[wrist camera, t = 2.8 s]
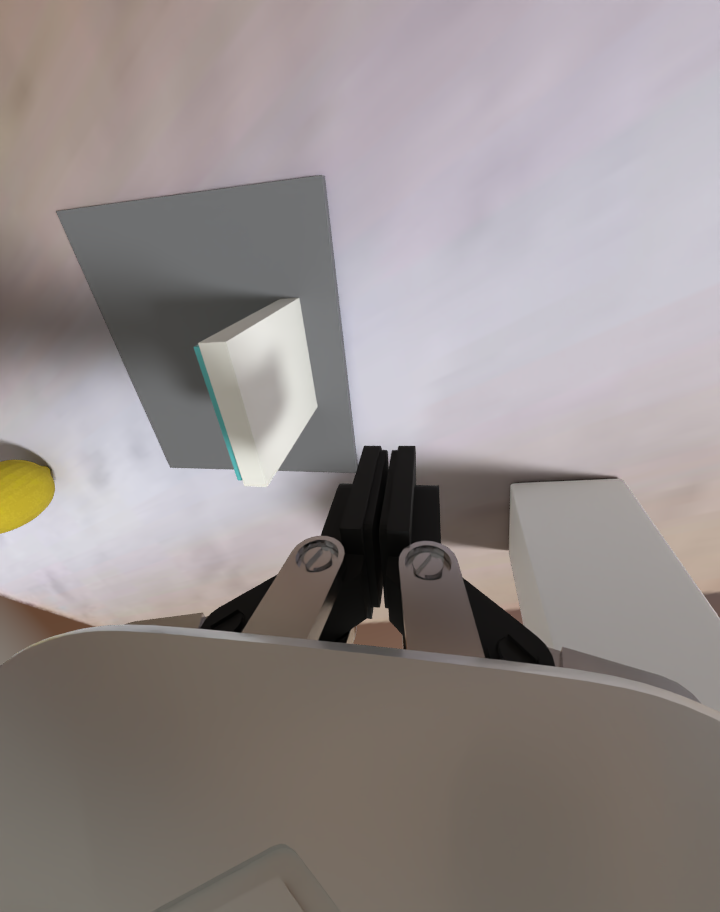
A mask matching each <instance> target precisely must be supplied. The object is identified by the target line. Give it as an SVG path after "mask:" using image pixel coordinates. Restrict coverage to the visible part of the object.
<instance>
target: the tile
mask: <svg viewBox="0 0 720 912" xmlns="http://www.w3.org/2000/svg"><path fill="white" fill-rule="evenodd" d="M194 350H195V353H196V356H197V359H198V362H199V365H200V368H201V371H202V374H203V377H204V380H205V383H206V386H207V389H208V392H209V395H210V398H211V401H212V404H213V407H214V410H215V413H216V416H217V419H218V422H219V425H220V428H221V431H222V434H223V437H224V440H225V443H226V446H227V449H228V452H229V455H230V458H231V461H232V464H233V467H234V470H235V473H236V476H237V479H238V480H243V483H244V486H254V487H268V485H269V484H270V482H271V480H272V479H273V477H274V476H275V474H276V472H277V471H278V469H279V468H280V466H281V464H282V463H283V461H284V460H285V458H286V456H287V455H288V453H289V452H290V450H291V448H292V447H293V445H294V444H295V442H296V440H297V439H298V437H299V436H300V434H301V432H302V431H303V429H304V428H305V426H306V424H307V423H308V421H309V420H310V418H311V416H312V415H313V413H314V412H315V410H316V408H317V401H316V395H315V389H314V383H313V377H312V371H311V365H310V359H309V353H308V347H307V341H306V335H305V329H304V323H303V317H302V311H301V305H300V299H299V298H287V299H279V300H277V301H275V302H273V303H272V304H270V305H268V306H266V307H264V308H262V309H260V310H259V311H257V312H255V313H253V314H251V315H249V316H247V317H246V318H244V319H242V320H240V321H238V322H236V323H234V324H233V325H231V326H229V327H227V328H225V329H223V330H221V331H220V332H218V333H216V334H214V335H212V336H210V337H208V338H207V339H205V340H203V341H201V342H199V343H198V345H196V346H194Z"/></svg>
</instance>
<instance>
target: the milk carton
mask: <svg viewBox="0 0 720 912" xmlns="http://www.w3.org/2000/svg"><path fill="white" fill-rule="evenodd" d="M509 557H510V561H511V566H512V571H513V576H514V581H515V586H516V590H517V595H518V600H519V605H520V610H521V614H522V619H523V624H524V626H525V627H526V628H527V629H529V630H530V631H531V632H533V633H534V634H535V635H536V636H538V637H539V638H540V639H541V640H542V641H543V642H544V643H545V644H546V646H547V647H549V648H552V649H555V650H559V651H561V649H562V647H565V648H569V649H572V650H576V651H579V652H582V653H586V654H589V655H593V656H596V657H599V658H603V659H606V660H610V661H613V662H617V663H620V664H623V665H627V666H630V667H634V668H637V669H640V670H644V671H647V672H651V673H654V674H657V675H661V676H663V677H666V678H668V679H670V680H673V681H675V682H677V683H679V684H680V685H681V686H683V687H684V688H686V689H687V690H688V691H690V692H691V693H692V694H693V695H694V696H695V697H696V698H697V699H698V700H699V701H700V703H701V704H703V705H705V706H707V707H710V708H712V709H714V710H717V711H719V712H720V618H719V617H718V615H717V614H716V612H715V611H714V609H713V608H712V607H711V605H710V604H709V602H708V601H707V599H706V598H705V596H704V595H703V594H702V592H701V591H700V589H699V588H698V586H697V585H696V584H695V582H694V581H693V579H692V578H691V576H690V575H689V573H688V572H687V571H686V569H685V568H684V566H683V565H682V563H681V562H680V561H679V559H678V558H677V556H676V555H675V553H674V552H673V550H672V549H671V548H670V546H669V545H668V543H667V542H666V540H665V539H664V538H663V536H662V535H661V533H660V532H659V530H658V529H657V527H656V526H655V525H654V523H653V522H652V520H651V519H650V517H649V516H648V514H647V513H646V512H645V510H644V509H643V507H642V506H641V504H640V503H639V502H638V500H637V499H636V497H635V496H634V494H633V493H632V491H631V490H630V489H629V487H628V486H627V484H626V483H625V482H624V480H622V479H598V480H575V481H553V482H530V483H514V484H511V487H510V526H509Z"/></svg>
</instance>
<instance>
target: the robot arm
mask: <svg viewBox="0 0 720 912" xmlns="http://www.w3.org/2000/svg"><path fill="white" fill-rule="evenodd" d="M382 589H384V601H385V608H389V621H390V622H391V623H392V624H393V625H394V626H395V627H396V628H397V629H398V630H399V632H400V633H401V634H402V639H403V649H395V648H385V647H376V646H366V645H357V644H353V641H354V638H355V634H356V626H357V625H358V624H359V623H361V622H362V621H364V620H365V619H366V618H369V619H372V614H373V607H380V604H381V596H382ZM0 912H720V712H719V711H717V710H714V709H712V708H710V707H707V706H705V705H703V704H701V703H700V701H699V700H698V699H697V698H696V697H695V696H694V695H693V694H692V693H691V692H690V691H688V690H687V689H686V688H684V687H683V686H681V685H680V684H679V683H677V682H675V681H673V680H670V679H668V678H666V677H663V676H661V675H657V674H654V673H651V672H647V671H644V670H640V669H637V668H634V667H630V666H627V665H623V664H620V663H617V662H613V661H610V660H606V659H603V658H599V657H596V656H593V655H589V654H586V653H582V652H579V651H576V650H572V649H569V648H565V647H562V649H561V651H559V650H555V649H552V648H549V647H547V646H546V644H545V643H544V642H543V641H542V640H541V639H540V638H539V637H538V636H536V635H535V634H534V633H533V632H531V631H530V630H529V629H527V628H526V627H525V626H524V625H522V624H521V623H520V622H519V621H517V620H516V619H515V618H513V617H512V616H511V615H510V614H508V613H507V612H506V611H505V610H503V609H502V608H501V607H499V606H498V605H497V604H496V603H494V602H493V601H492V600H490V599H489V598H488V597H487V596H485V595H484V594H483V593H482V592H480V591H479V590H478V589H476V588H475V587H474V586H473V585H471V584H470V583H469V582H468V581H466V580H465V579H464V578H462V574H461V571H460V567H459V564H458V560H457V558H456V556H455V554H454V553H453V552H452V551H451V550H450V549H449V548H448V547H446V546H444V545H442V544H441V533H440V504H439V486H424V485H416V449H415V446H399V447H398V450H392V453H391V459H390V465H389V466H388V452H387V450H382V448H381V446H364V448H363V451H362V455H361V458H360V461H359V465H358V468H357V471H356V475H355V478H354V481H353V484H339V486H338V488H337V491H336V494H335V497H334V500H333V502H332V505H331V508H330V511H329V514H328V517H327V519H326V522H325V525H324V528H323V531H322V534H321V536H316V537H311V538H308V539H306V540H304V541H302V542H301V543H299V544H298V545H297V546H296V547H295V548H294V550H293V551H292V552H291V554H290V555H289V557H288V559H287V560H286V562H285V564H284V565H283V567H282V568H281V570H280V572H279V573H278V575H276V576H274V577H272V578H271V579H269V580H267V581H265V582H263V583H262V584H260V585H258V586H256V587H255V588H253V589H251V590H249V591H247V592H246V593H244V594H242V595H240V596H239V597H237V598H235V599H233V600H232V601H230V602H228V603H226V604H224V605H223V606H221V607H219V608H218V609H216V610H215V611H214V612H212V613H211V614H210V615H209V616H207V617H205V616H204V614H203V613H196V614H189V615H181V616H173V617H165V618H158V619H150V620H142V621H135V622H131V623H127V624H124V625H108V626H98V627H92V628H85V629H79V630H75V631H72V632H68V633H64V634H60V635H56V636H53V637H50V638H47V639H45V640H42V641H40V642H37V643H35V644H33V645H30V646H29V647H27V648H25V649H23V650H21V651H20V652H18V653H17V654H15V655H14V656H12V657H11V658H10V659H8V660H7V661H5V662H4V663H3V664H2V665H0Z"/></svg>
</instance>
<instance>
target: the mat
mask: <svg viewBox="0 0 720 912" xmlns="http://www.w3.org/2000/svg"><path fill="white" fill-rule="evenodd" d="M56 212H57V215H58V217H59V219H60V221H61V224H62V226H63V228H64V230H65V232H66V235H67V237H68V239H69V241H70V244H71V246H72V248H73V250H74V253H75V255H76V257H77V259H78V262H79V264H80V266H81V268H82V271H83V273H84V275H85V277H86V280H87V282H88V284H89V286H90V289H91V291H92V293H93V295H94V297H95V300H96V302H97V304H98V306H99V309H100V311H101V313H102V315H103V318H104V320H105V322H106V324H107V327H108V329H109V331H110V333H111V336H112V338H113V340H114V342H115V345H116V347H117V349H118V351H119V353H120V356H121V358H122V360H123V362H124V365H125V367H126V369H127V371H128V374H129V376H130V378H131V380H132V383H133V385H134V387H135V389H136V392H137V394H138V396H139V398H140V401H141V403H142V405H143V407H144V409H145V412H146V414H147V416H148V418H149V421H150V423H151V425H152V427H153V430H154V432H155V434H156V436H157V439H158V441H159V443H160V445H161V448H162V450H163V452H164V454H165V457H166V459H167V461H168V463H169V465H170V468H203V469H234V467H233V464H232V461H231V458H230V455H229V452H228V449H227V446H226V443H225V440H224V437H223V434H222V431H221V428H220V425H219V422H218V419H217V416H216V413H215V410H214V407H213V404H212V401H211V398H210V395H209V392H208V389H207V386H206V383H205V380H204V377H203V374H202V371H201V368H200V365H199V362H198V359H197V356H196V353H195V350H194V346H196V345H198V343H199V342H201V341H203V340H205V339H207V338H208V337H210V336H212V335H214V334H216V333H218V332H220V331H221V330H223V329H225V328H227V327H229V326H231V325H233V324H234V323H236V322H238V321H240V320H242V319H244V318H246V317H247V316H249V315H251V314H253V313H255V312H257V311H259V310H260V309H262V308H264V307H266V306H268V305H270V304H272V303H273V302H275V301H277V300H279V299H287V298H299V299H300V305H301V311H302V317H303V323H304V329H305V335H306V341H307V347H308V353H309V359H310V365H311V371H312V377H313V383H314V389H315V395H316V401H317V408H316V410H315V412H314V413H313V415H312V416H311V418H310V420H309V421H308V423H307V424H306V426H305V428H304V429H303V431H302V432H301V434H300V436H299V437H298V439H297V440H296V442H295V444H294V445H293V447H292V448H291V450H290V452H289V453H288V455H287V456H286V458H285V460H284V461H283V463H282V464H281V466H280V468H279V469H278V471H305V472H339V473H356V471H357V468H358V464H357V456H356V447H355V438H354V429H353V420H352V412H351V403H350V394H349V385H348V376H347V368H346V359H345V350H344V341H343V333H342V324H341V315H340V306H339V297H338V289H337V280H336V271H335V262H334V253H333V245H332V236H331V227H330V218H329V209H328V201H327V192H326V183H325V176H323V175H319V176H312V177H304V178H297V179H290V180H282V181H275V182H268V183H260V184H253V185H246V186H238V187H231V188H224V189H216V190H209V191H202V192H194V193H187V194H180V195H172V196H165V197H158V198H150V199H143V200H136V201H128V202H121V203H114V204H106V205H99V206H92V207H84V208H77V209H70V210H62V211H56Z"/></svg>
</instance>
